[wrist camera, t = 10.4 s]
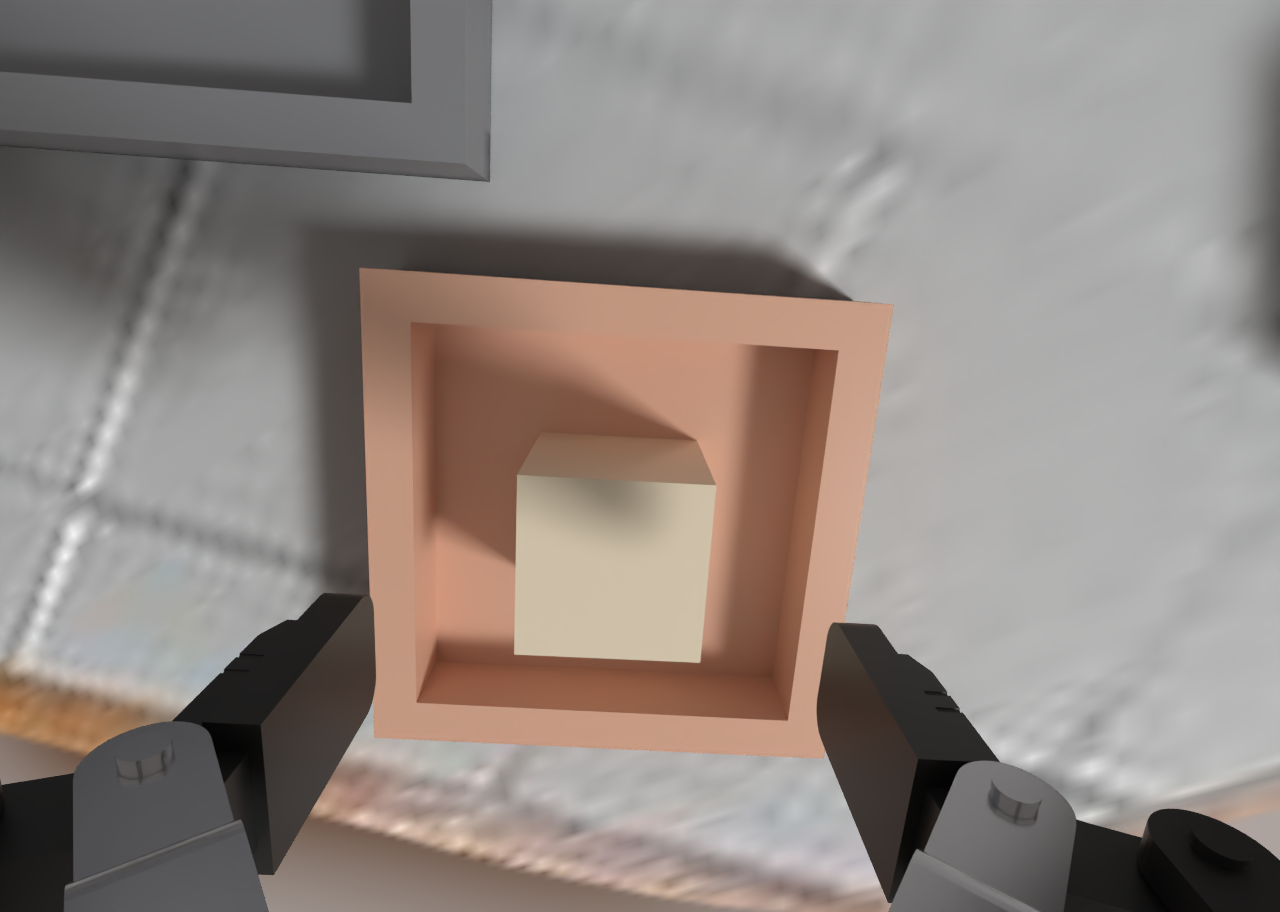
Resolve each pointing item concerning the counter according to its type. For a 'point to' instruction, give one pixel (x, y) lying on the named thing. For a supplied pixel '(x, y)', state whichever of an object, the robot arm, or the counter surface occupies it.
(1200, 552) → the counter surface
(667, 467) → the beige cube
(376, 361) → the bin
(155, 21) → the bin
